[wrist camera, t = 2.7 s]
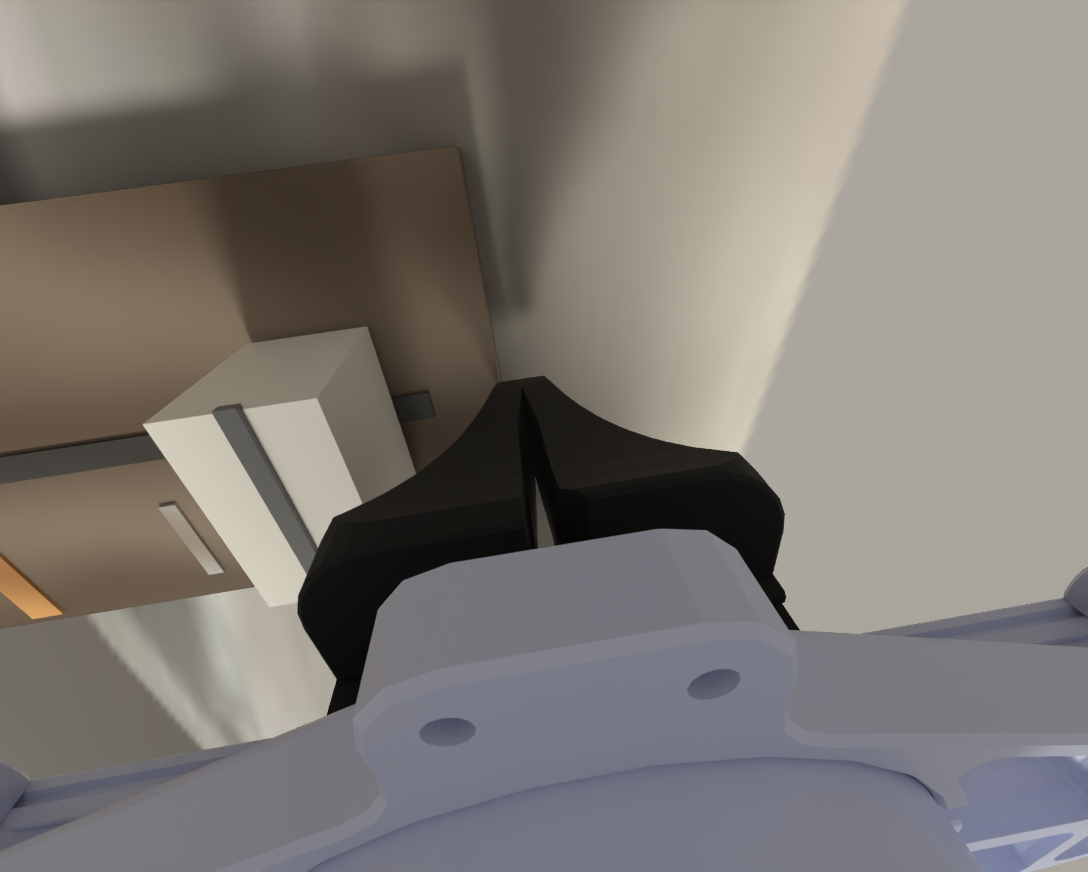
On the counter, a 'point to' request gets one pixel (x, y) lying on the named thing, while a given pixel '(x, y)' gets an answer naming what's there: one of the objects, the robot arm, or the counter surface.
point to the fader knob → (285, 448)
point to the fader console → (208, 351)
